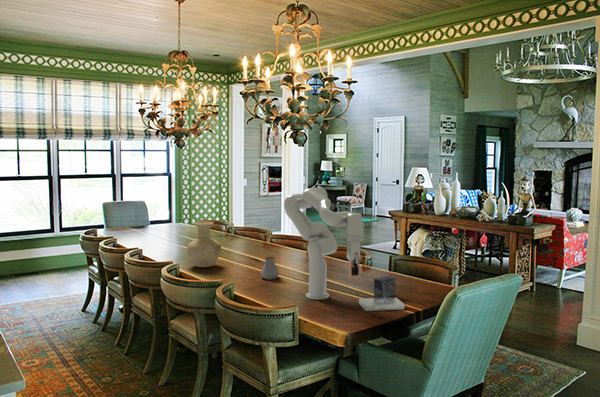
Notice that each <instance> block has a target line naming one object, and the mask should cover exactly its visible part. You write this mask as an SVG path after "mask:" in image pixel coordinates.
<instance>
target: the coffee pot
mask: <svg viewBox="0 0 600 397" xmlns="http://www.w3.org/2000/svg"><path fill="white" fill-rule="evenodd" d="M264 259H265V261H262V260H260V259H257V258H254V257H249V258H248V261H250V260H251V261H255V262H258V263H262V264H263V267H262V268H261V271H260V277H262V278H263V279H264V280H268V281H269V280H272V281H273V280H276V279H277V278H278V277H279V275H280V272H279V269H278V267H277V265H276V263H275V259H276V257H274V256H265V257H264Z"/></svg>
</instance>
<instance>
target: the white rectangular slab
mask: <svg viewBox="0 0 600 397" xmlns="http://www.w3.org/2000/svg"><path fill="white" fill-rule="evenodd" d="M358 304H359V305H360V306H361V307H362V309H363V310H364V311H366V312H370V311H371V312H372V311H373V312H374V311H393V310H394V311H396V310H405V303H404V302H402V301H401V300H400V299H399V298H397V297H396V296H394V297H391V298H375V297H373V298H372V297H371V298H359V299H358Z"/></svg>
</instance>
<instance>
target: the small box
mask: <svg viewBox="0 0 600 397" xmlns="http://www.w3.org/2000/svg"><path fill="white" fill-rule="evenodd" d="M373 283H374V284H373V298H393V297H396V277H393V276H389V275H385V276H380V277H377V278H374V279H373Z"/></svg>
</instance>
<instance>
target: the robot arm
mask: <svg viewBox="0 0 600 397" xmlns="http://www.w3.org/2000/svg"><path fill="white" fill-rule="evenodd" d="M283 206H284V211H285V214H286V216H288V218H289V219H290V221H291V222H292V223H293V225H294V226H295V228H296V229H297V231H298V233H299V234H300V236H301V238H302V239H303V240H304V241H309V242H308V243H307V246H306V248H307V249H306V250H307V255H308V292H307V293H305V297H306V298H307V299H310V300H316V301H317V300H318V301H319V300H326V299H329V297H330V294H329V293H328V292H327V279H328V278H327V277H328V276H327V268H328V267H327V261H326V258H325V256H328V255H332V254H335V253H336V251H337V250H338V243H337V241H336V239H335V236H333V234H332V232H331V231H330V230H329V228H328V227H327V225H328V226H330V227H332V228H341V227H346V241H347V243H346V244H347V246H346V258H347V259H348V261H349V260H350V261H351V262H352V266H353V267H352V275H358V263H359V264H360V261H361V242H362V241H363V240H362V239H363V236H362V235H363V215H362V214H361V213H360V212H352V211H349V210H343V211H335V212H334V211H333V210H332V209H330V208H331V200H330V198H328V192H327V190H326V189H325V188H323V187H310V188H309V187H308V188H306V189H304V190H303V192H302V193H294V194H290V195H288V196H286V198H284V202H283ZM311 208H313V209H314V210H316V211H317V212H318V214H319V217H320V219H321V220H322V221H323V222H324V223H323V222H321V221H314V222H313V221H311V220H310V218H309V217H308V215H307V214H306V212H305V213H304V212H303V211H302V210H303V209H311ZM326 224H327V225H326ZM354 260H355V261H354ZM358 260H359V261H358ZM354 262H355V263H354Z"/></svg>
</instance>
